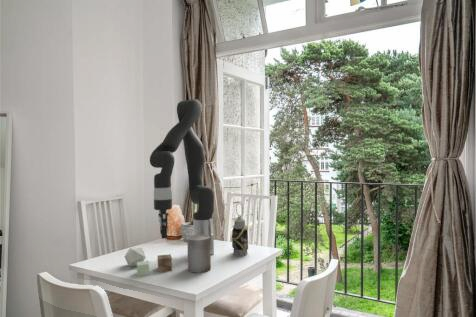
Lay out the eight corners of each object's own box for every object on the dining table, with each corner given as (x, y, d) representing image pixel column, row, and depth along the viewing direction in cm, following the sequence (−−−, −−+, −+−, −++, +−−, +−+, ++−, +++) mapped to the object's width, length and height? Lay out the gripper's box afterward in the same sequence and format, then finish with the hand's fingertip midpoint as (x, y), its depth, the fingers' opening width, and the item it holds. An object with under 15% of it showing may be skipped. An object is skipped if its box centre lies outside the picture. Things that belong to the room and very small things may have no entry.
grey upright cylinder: (205, 264, 155) (204, 230, 155) (214, 270, 147) (213, 234, 146) (184, 268, 151) (183, 233, 151) (192, 274, 142) (191, 237, 142)
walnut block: (170, 266, 153) (170, 254, 153) (171, 270, 148) (171, 257, 148) (157, 268, 151) (157, 255, 151) (158, 272, 146) (158, 259, 146)
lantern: (251, 254, 169) (250, 202, 169) (237, 257, 166) (236, 204, 165) (242, 250, 177) (241, 200, 177) (228, 252, 173) (227, 202, 173)
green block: (148, 271, 147) (148, 261, 147) (148, 275, 143) (148, 264, 143) (137, 272, 146) (137, 262, 146) (137, 276, 141) (137, 265, 141)
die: (134, 271, 150) (147, 251, 153) (118, 260, 151) (131, 241, 154) (139, 272, 157) (151, 253, 160) (123, 262, 159) (136, 243, 162)
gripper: (173, 199, 144) (174, 239, 144) (170, 196, 157) (171, 232, 158) (154, 200, 142) (155, 240, 142) (153, 196, 155) (153, 233, 156)
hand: (163, 236), depth 150 cm, fingers open, 8 cm apart
